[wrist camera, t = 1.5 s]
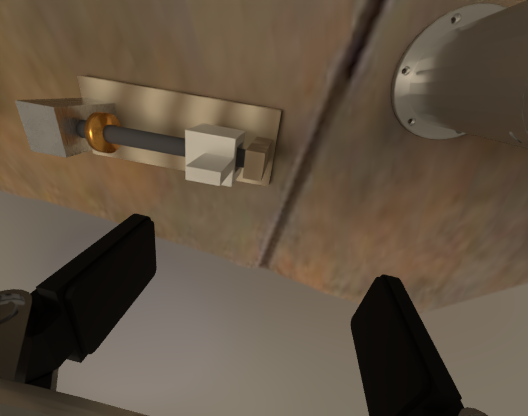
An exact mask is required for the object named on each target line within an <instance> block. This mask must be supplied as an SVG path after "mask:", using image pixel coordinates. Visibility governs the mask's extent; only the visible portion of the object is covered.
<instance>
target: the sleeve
mask: <svg viewBox="0 0 528 416" xmlns="http://www.w3.org/2000/svg"><path fill="white" fill-rule="evenodd" d="M245 134H246V131H244V130H238V129H233V128H227V127H221V126H216V125H210V124H205V123H203V124H200V125H197V126H195V127H192V128H189V129H186V130H185V162H186V166H185V170H186V180H191V181H196V182H202V183H207V184H212V185H217V186H220V185H225V186H230V187H232V185H233V184H234V182H235V181H236V179H237V178H238V176H239V175H240V173H241V171H242V167H236V166H235V163H236V153H237V148H240V149H244V143H245Z"/></svg>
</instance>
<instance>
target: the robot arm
mask: <svg viewBox="0 0 528 416" xmlns="http://www.w3.org/2000/svg"><path fill="white" fill-rule="evenodd" d="M451 18H452V19H453V23H451ZM402 69H405V72H404V74H402ZM391 100H392V107H393V110H394V113H395V115H396V117H397V119H398V120H399V122H400V123H401V125H402V126H403V127H405V128H406V129H407V130H408V131H410V132H411V133H413V134H415V135H417V136H420V137H423V138H428V139H433V140H443V139H450V138H456V137H459V136H462V135H465V134H471V135H475V136H479V137H483V138H487V139H491V140H495V141H499V142H503V143H507V144H511V145H515V146H519V147H523V148H527V149H528V0H526V1H524V2H521V3H519V4H516V5H514V6H511V7H509V8H507V7H505V6H502V5H498V4H495V3H477V4H472V5H467V6H464V7H461V8H459V9H456V10H453V11H451V12H449V13H447V14H445V15H444V16H442V17H440V18H438V19H437V20H436V21H434V22H433V23H431V24H430V25H428V26H427V27H426V28H425V29H424V30H423V31H422V32H421V33H420V34H419V35H418V36H416V38H415V39H414V40H413V41H412V43H411V44H410V45H409V46H408V48H407V49H406V51H405V52H404V54H403V56H402V57H401V59H400V61H399V63H398V66H397V68H396V71H395V73H394V77H393V82H392V87H391ZM409 119H411V121H410V122H409V123H408V120H409ZM155 273H156V250H155V230H154V222H153V221H151V219H150V217H148V216H144V215H140V214H133V215H131V216H130V217H129V218H127V219H126V220H125V221H123V222H122V223H121V224H119V225H118V226H117V227H115V228H114V229H113V230H111V231H110V232H109V233H107V234H106V235H105V236H103V237H102V238H101V239H99V240H98V241H97V242H96V243H94V244H93V245H91V246H90V247H89V248H88V249H86V250H85V251H84V252H82V253H81V254H79V255H78V256H77V257H75V258H74V259H73V260H71V261H70V262H69V263H67V264H66V265H65V266H63V267H62V268H61V269H59V270H58V271H57V272H55V273H54V274H53V275H51V276H50V277H49V278H47V279H46V280H45V281H44V282H42V283H41V284H39V285H38V286H37V287H36V290H34V291H33V292H32V293H29V292H27V291H24V290H19V289H11V290H4V291H0V416H147V415H143V414H140V413H137V412H132V411H129V410H125V409H121V408H118V407H114V406H111V405H107V404H103V403H100V402H96V401H92V400H88V399H85V398H81V397H77V396H73V395H69V394H65V393H61V392H57V391H56V388H57V378H58V369H59V367H60V366H61V365H62V363H63V362H64V361H65V360H66V359H69V360H72V361H76V362H80V363H81V362H82V361H83V360H84V359H85V357H86V356H87V355H88V354H92V353H93V352H95V350H96V349H97V348H98V347H99V346H100V344H101V343H102V342H103V341H104V339H105V338H106V337H107V335H108V334H109V333H110V332H111V330H112V329H113V328H114V327H115V325H116V324H117V323H118V321H119V320H120V319H121V318H122V316H123V315H124V314H125V312H126V311H127V310H128V309H129V307H130V306H131V305H132V303H133V302H134V301H135V300H136V298H137V297H138V296H139V295H140V293H141V292H142V291H143V290H144V288H145V287H146V286H147V284H148V283H149V282H150V280H151V279H152V278H153V277H154V275H155ZM351 330H352V335H353V340H354V345H355V349H356V354H357V359H358V364H359V369H360V373H361V378H362V383H363V388H364V393H365V397H366V402H367V407H368V412H369V416H488V415H486V414H485V413H483V412H481V411H479V410H477V409H474V408H468V407H467V408H464V407H463V404H462V402H461V399H462V397H461V395H460V394H459V392H458V390H457V388H456V386H455V384H454V382H453V380H452V378H451V376H450V374H449V372H448V370H447V368H446V367H445V365H444V363H443V361H442V359H441V357H440V355H439V353H438V351H437V349H436V347H435V345H434V343H433V342H432V340H431V338H430V336H429V334H428V332H427V330H426V328H425V326H424V324H423V322H422V320H421V318H420V317H419V315H418V313H417V311H416V309H415V307H414V305H413V303H412V301H411V299H410V297H409V295H408V293H407V291H406V290H405V288H404V286H403V284H402V282H401V280H400V279H399V278H396V277H392V276H388V275H381V276H380V277H376V278H375V280H374V282H373V283H372V285H371V287H370V288H369V290H368V292H367V293H366V295H365V297H364V299H363V300H362V302H361V304H360V305H359V307H358V309H357V310H356V312H355V314H354V315H353V317H352V319H351Z"/></svg>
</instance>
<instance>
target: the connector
mask: <svg viewBox="0 0 528 416" xmlns="http://www.w3.org/2000/svg"><path fill="white" fill-rule="evenodd" d="M15 102H16V106H17V109H18V112H19V115H20V118H21V121H22V124H23V127H24V130H25V133H26V136H27V139H28V142H29V145H30V148H31V151H35V152H41V153H46V154H51V155H56V156H62V157H70V156H73V155H77V154H80V153H83V152H87V151H90V150H95V151H98V152H103V153H114V152H115V151H117V150H118V148H119V147H120V145H118V144H113V143H108V142H106V141H105V140H104V138H103V129H104V127H105V126H106V125H114V126H120V127H121V124H120V122H119V120H118V119H117V116H116V109H115V103H112V102H106V101H101V100H95V99H89V98H65V99H36V100H15ZM81 120H87V121H86V123H85V137H86V138H82V137H80V136H79V134H78V133H77V124H78V122H79V121H81Z"/></svg>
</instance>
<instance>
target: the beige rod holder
mask: <svg viewBox="0 0 528 416" xmlns="http://www.w3.org/2000/svg"><path fill="white" fill-rule="evenodd" d="M77 76H78V81H79V86H80V91H81V96H82V98H89V99H95V100H101V101H106V102H112V103H115V109H116V116H117V119H118V120H119V122H120V124H121V127H125V128H131V129H136V130H142V131H147V132H153V133H158V134H164V135H169V136H175V137H180V138H185V130H186V129H189V128H192V127H195V126H197V125H200V124H203V123H205V124H210V125H216V126H221V127H227V128H233V129H238V130H244V131H246V134H245V143H244V149H246V152H245V161H244V168H242V171H241V173H240V175H239V176H238V178H237V179H236V181H241V182H247V183H252V184H257V185H263V186H269V182H270V176H271V170H272V165H273V159H274V153H275V147H276V141H277V136H278V130H279V124H280V118H281V112H282V110H280V109H274V108H268V107H263V106H257V105H251V104H245V103H240V102H234V101H228V100H222V99H217V98H211V97H205V96H199V95H194V94H188V93H182V92H176V91H171V90H165V89H159V88H153V87H148V86H142V85H136V84H130V83H125V82H119V81H113V80H107V79H102V78H96V77H90V76H80V75H77ZM93 154H98V155H104V156H109V157H114V158H119V159H125V160H130V161H135V162H141V163H146V164H151V165H157V166H162V167H167V168H173V169H178V170H183V171H186V170H185V166H186V162H185V157H182V156H177V155H172V154H166V153H161V152H156V151H150V150H145V149H139V148H134V147H129V146H123V145H120V147H119V148H118V150H117V151H115V152H114V153H103V152H98V151H95V150H93Z"/></svg>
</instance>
